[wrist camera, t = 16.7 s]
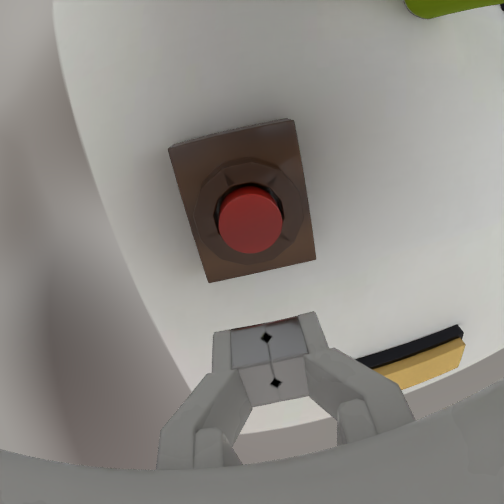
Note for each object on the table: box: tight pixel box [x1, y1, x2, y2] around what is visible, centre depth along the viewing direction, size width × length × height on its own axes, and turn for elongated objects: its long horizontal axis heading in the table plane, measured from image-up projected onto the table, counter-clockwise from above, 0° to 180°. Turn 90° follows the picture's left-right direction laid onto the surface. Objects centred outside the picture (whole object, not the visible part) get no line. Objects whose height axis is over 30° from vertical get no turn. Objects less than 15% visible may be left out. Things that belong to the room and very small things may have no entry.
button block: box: [168, 118, 316, 283], centre depth 21 cm, size 10×8×4 cm
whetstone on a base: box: [356, 325, 465, 390], centre depth 31 cm, size 5×14×3 cm, turn 102°
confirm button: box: [218, 186, 282, 253], centre depth 19 cm, size 4×4×2 cm
